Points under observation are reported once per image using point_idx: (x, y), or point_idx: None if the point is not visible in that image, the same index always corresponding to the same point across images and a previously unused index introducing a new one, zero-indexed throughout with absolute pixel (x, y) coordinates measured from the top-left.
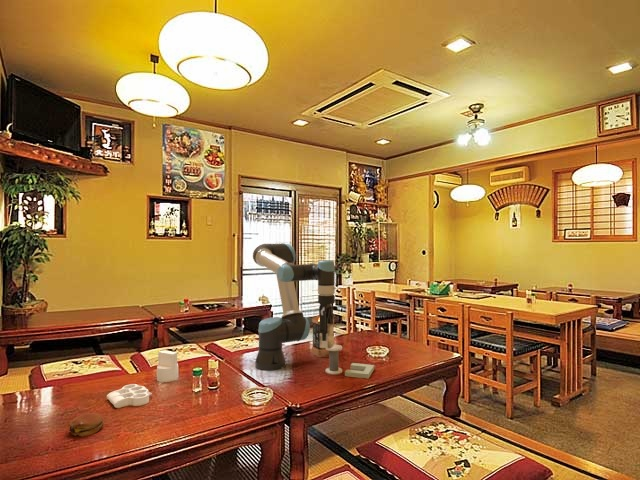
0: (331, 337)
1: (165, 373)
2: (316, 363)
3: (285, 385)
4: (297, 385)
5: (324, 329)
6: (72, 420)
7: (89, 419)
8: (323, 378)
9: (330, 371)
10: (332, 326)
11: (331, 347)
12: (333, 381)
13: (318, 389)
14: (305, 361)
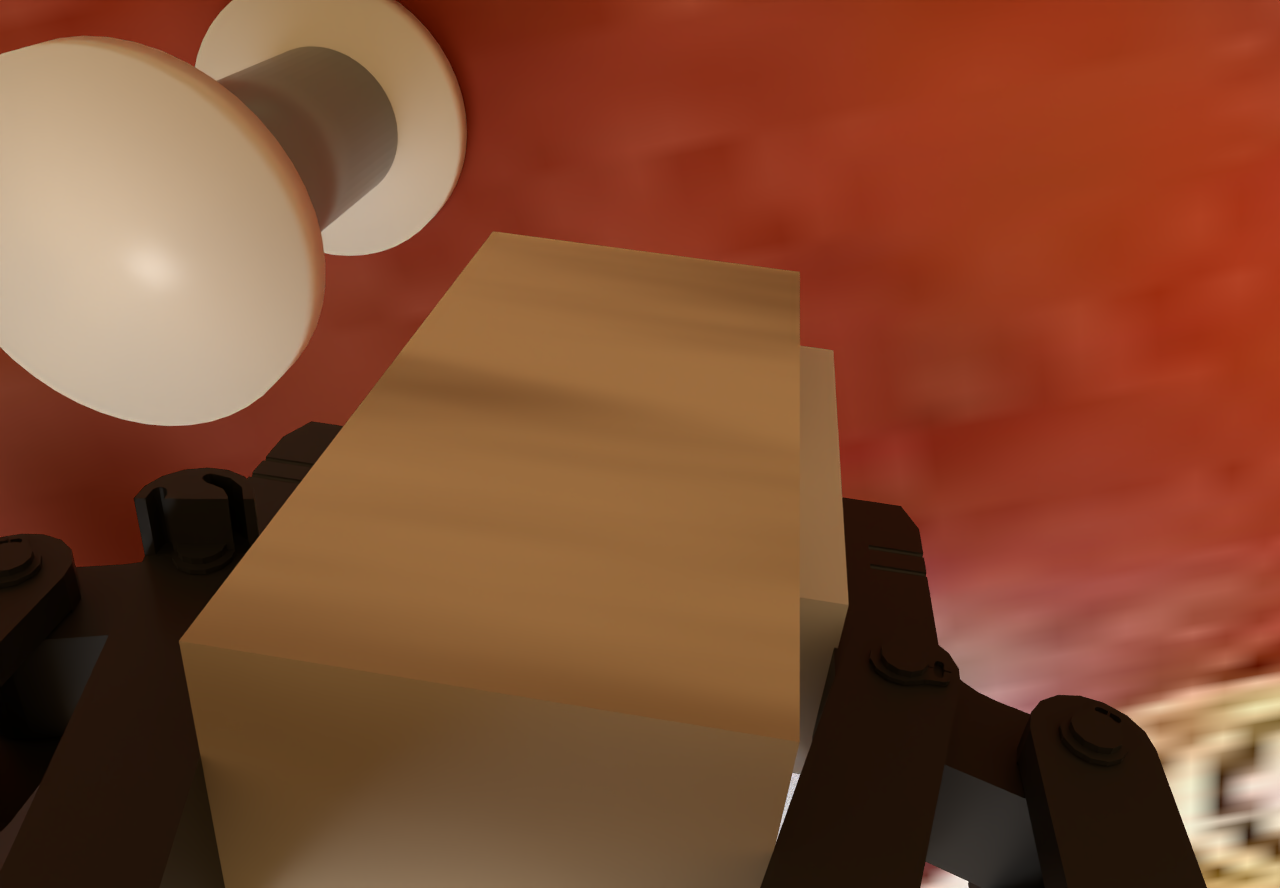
0: (658, 387)
1: None
2: (103, 424)
3: (999, 611)
4: (987, 490)
5: (1185, 852)
6: None
7: None
8: (661, 219)
9: (420, 165)
10: (410, 604)
11: (699, 261)
12: (759, 40)
13: (1129, 203)
14: (100, 560)
